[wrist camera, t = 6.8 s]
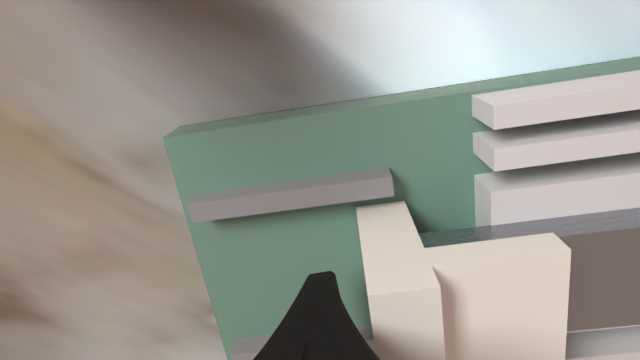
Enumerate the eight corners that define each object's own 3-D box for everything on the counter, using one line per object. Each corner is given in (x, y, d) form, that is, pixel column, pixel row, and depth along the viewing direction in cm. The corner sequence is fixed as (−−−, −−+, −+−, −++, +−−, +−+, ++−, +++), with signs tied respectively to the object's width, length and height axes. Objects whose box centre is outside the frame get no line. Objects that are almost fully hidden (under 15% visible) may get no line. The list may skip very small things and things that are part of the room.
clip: (505, 187, 13) (592, 269, 8) (505, 298, 14) (581, 417, 10) (355, 207, 13) (367, 295, 9) (370, 313, 14) (387, 435, 10)
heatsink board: (836, 26, 12) (1103, 27, 8) (766, 308, 16) (927, 412, 11) (180, 126, 14) (112, 170, 10) (245, 362, 17) (216, 472, 13)
